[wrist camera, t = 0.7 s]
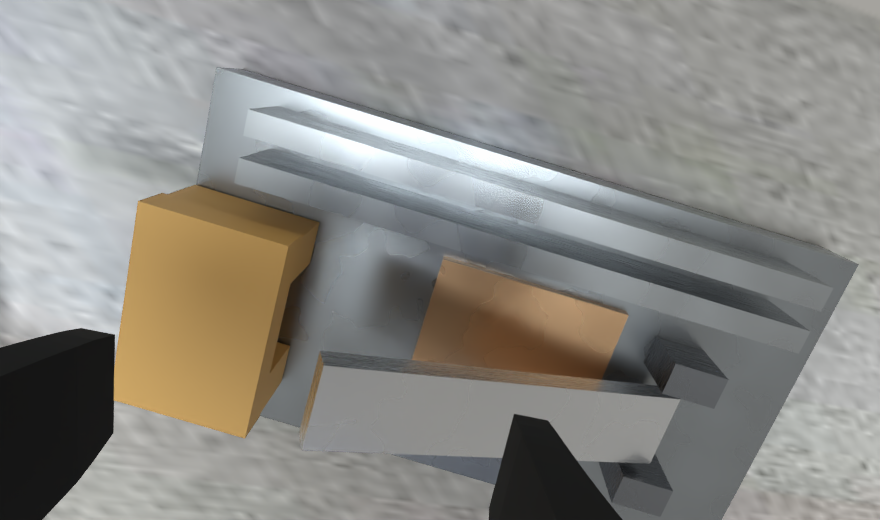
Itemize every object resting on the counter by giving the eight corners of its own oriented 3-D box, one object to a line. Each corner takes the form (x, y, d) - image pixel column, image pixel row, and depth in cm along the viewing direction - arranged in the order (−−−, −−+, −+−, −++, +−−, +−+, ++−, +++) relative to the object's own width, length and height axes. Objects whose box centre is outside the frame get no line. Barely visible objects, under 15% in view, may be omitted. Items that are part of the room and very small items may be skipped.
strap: (636, 449, 19) (649, 463, 19) (298, 432, 15) (301, 450, 14) (665, 386, 18) (680, 399, 18) (320, 350, 14) (323, 365, 14)
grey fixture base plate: (687, 507, 23) (735, 604, 19) (188, 361, 22) (121, 425, 18) (821, 246, 20) (915, 290, 15) (242, 68, 19) (176, 64, 15)
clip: (280, 384, 20) (244, 438, 17) (167, 350, 20) (110, 398, 17) (320, 219, 18) (288, 246, 15) (195, 181, 18) (138, 201, 15)
